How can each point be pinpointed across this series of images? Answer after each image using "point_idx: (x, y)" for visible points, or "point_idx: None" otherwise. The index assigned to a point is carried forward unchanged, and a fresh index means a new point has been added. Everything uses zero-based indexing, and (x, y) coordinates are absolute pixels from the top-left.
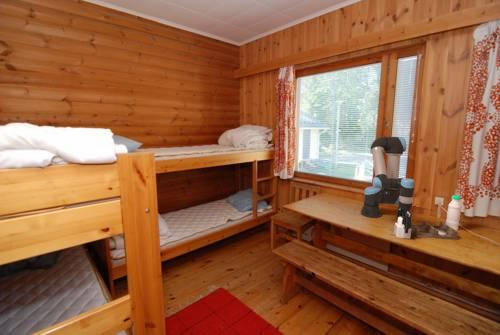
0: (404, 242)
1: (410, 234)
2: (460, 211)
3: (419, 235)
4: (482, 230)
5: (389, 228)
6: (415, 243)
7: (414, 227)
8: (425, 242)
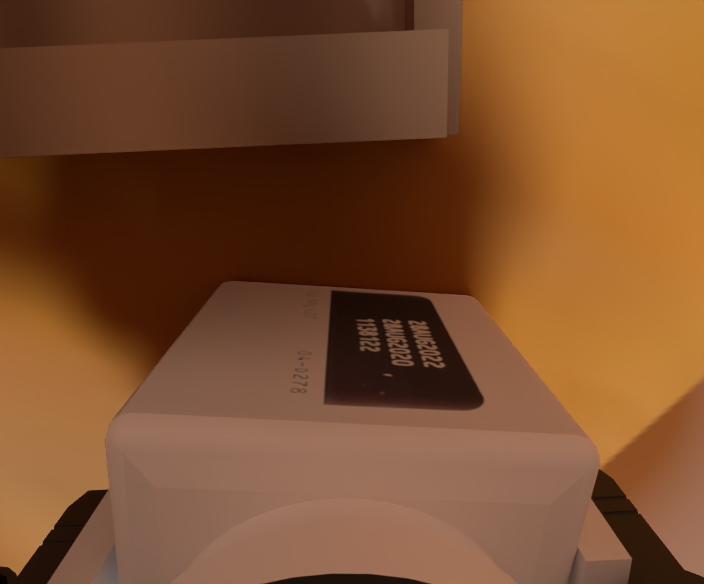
0: (622, 446)
1: (509, 342)
2: None
3: (456, 71)
4: None
5: (17, 501)
6: (665, 268)
7: (220, 146)
8: (620, 11)
